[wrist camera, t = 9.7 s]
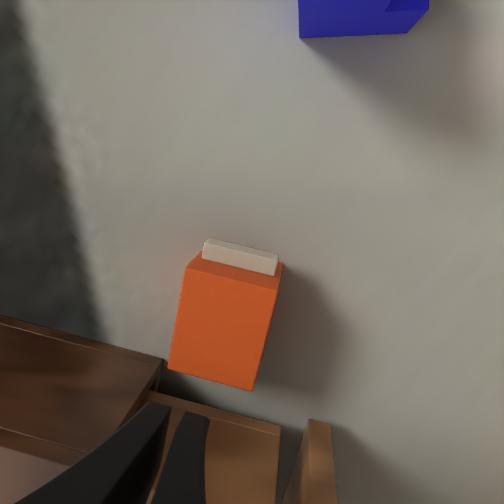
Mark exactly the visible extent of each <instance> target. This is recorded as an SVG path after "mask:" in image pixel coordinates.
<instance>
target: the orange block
mask: <svg viewBox="0 0 504 504" xmlns="http://www.w3.org/2000/svg"><path fill="white" fill-rule="evenodd" d="M278 259H279V255H278V254H274V253H270V252H266V251H262V250H258V249H253V248H249V247H245V246H241V245H237V244H233V243H229V242H225V241H221V240H217V239H213V238H209V239H208V240H207V241H206V242H205V243H204V247H203V250H202V251H201V252H200V253H199V254H198V255H197V256H196V257H195V258H194V259H193V260H192V261H191V262H190V263H189V265H188V266H187V267H186V268H185V272H184V278H183V283H182V289H181V294H180V300H179V306H178V311H177V317H176V322H175V328H174V333H173V339H172V344H171V350H170V355H169V361H168V367H167V368H168V369H170V370H173V371H177V372H181V373H185V374H188V375H192V376H196V377H199V378H203V379H207V380H211V381H214V382H218V383H222V384H225V385H229V386H233V387H237V388H240V389H244V390H248V391H253V388H254V384H255V380H256V376H257V373H258V369H259V365H260V361H261V357H262V353H263V349H264V345H265V341H266V338H267V334H268V330H269V326H270V322H271V318H272V314H273V310H274V307H275V303H276V299H277V295H278V291H279V284H280V278H281V272H282V266H283V263H280V262H278Z"/></svg>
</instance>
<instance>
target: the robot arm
mask: <svg viewBox="0 0 504 504" xmlns="http://www.w3.org/2000/svg"><path fill="white" fill-rule="evenodd" d="M171 409H172V407H170V406H166V405H162V404H159V403H155V402H149V403H147V404H145V405H144V406H143V407H142V408H141V409H140V410H139V411H138V412H137V413H136V414H135V415H134V416H133V417H131V418H130V419H129V420H128V421H127V422H126V423H125V424H123V425H122V426H121V427H120V428H119V429H118V430H116V431H115V432H114V433H113V434H112V435H110V436H109V437H108V438H107V439H105V440H104V441H103V442H102V443H100V444H99V445H98V446H97V447H96V448H94V449H93V450H92V451H90V452H89V453H88V454H86V455H85V456H84V457H82V458H81V459H80V460H78V461H77V462H75V463H74V464H73V465H71V466H70V467H69V468H67V469H66V470H64V471H63V472H62V473H60V474H59V475H57V476H56V477H54V478H53V479H51V480H50V481H48V482H47V483H46V484H44V485H42V486H41V487H39V488H38V489H36V490H35V491H33V492H31V493H30V494H28V495H27V496H25V497H23V498H22V499H20V500H19V501H17V502H15V503H14V504H146V502H147V500H148V497H149V495H150V492H151V490H152V487H153V484H154V482H155V479H156V477H157V474H158V471H159V469H160V466H161V461H162V456H163V451H164V446H165V440H166V435H167V430H168V425H169V419H170V414H171ZM209 425H210V420H209V419H208V417H206V416H202V415H199V414H195V413H191V412H188V411H186V412H185V413H184V415H183V417H182V418H181V420H180V422H179V424H178V426H177V428H176V430H175V433H174V436H173V439H172V442H171V445H170V448H169V451H168V454H167V457H166V460H165V463H164V466H163V469H162V472H161V475H160V478H159V481H158V484H157V487H156V490H155V493H154V495H153V498H152V500H151V503H150V504H206V493H205V448H206V439H207V434H208V430H209Z"/></svg>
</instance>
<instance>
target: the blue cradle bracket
mask: <svg viewBox="0 0 504 504" xmlns="http://www.w3.org/2000/svg"><path fill="white" fill-rule="evenodd" d="M428 8H429V0H298V9H299V38H315V37H336V36H357V35H378V34H399V33H407V32H408V31H409V30H410V29H411V28H412V27H413V26H414V25H415V23H416V22H417V21H418V20H419V19H420V18H421V17H422V16H423V15H424V14H425V13H426V12H427V11H428Z"/></svg>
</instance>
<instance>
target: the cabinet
mask: <svg viewBox="0 0 504 504" xmlns="http://www.w3.org/2000/svg"><path fill="white" fill-rule="evenodd" d="M162 364H163V359H162V358H158V357H154V356H151V355H147V354H143V353H139V352H136V351H132V350H128V349H124V348H121V347H117V346H113V345H110V344H106V343H102V342H98V341H95V340H91V339H87V338H83V337H80V336H76V335H72V334H68V333H65V332H61V331H57V330H54V329H50V328H46V327H42V326H39V325H35V324H31V323H27V322H24V321H20V320H16V319H13V318H9V317H5V316H1V315H0V504H14V503H15V502H17V501H19V500H20V499H22V498H23V497H25V496H27V495H28V494H30V493H31V492H33V491H35V490H36V489H38V488H39V487H41V486H42V485H44V484H46V483H47V482H48V481H50V480H51V479H53V478H54V477H56V476H57V475H59V474H60V473H62V472H63V471H64V470H66V469H67V468H69V467H70V466H71V465H73V464H74V463H75V462H77V461H78V460H80V459H81V458H82V457H84V456H85V455H86V454H88V453H89V452H90V451H92V450H93V449H94V448H96V447H97V446H98V445H99V444H100V443H102V442H103V441H104V440H105V439H107V438H108V437H109V436H110V435H112V434H113V433H114V432H115V431H116V430H118V429H119V428H120V427H121V426H122V425H123V424H125V423H126V422H127V421H128V420H129V419H130V418H131V417H132V416H133V415H134V413H135V411H136V410H137V408H138V407H139V405H140V403H141V402H142V400H143V399H144V397H145V395H146V394H147V392H148V391H149V390H151V391H154V392H158V386H159V381H160V375H161V369H162Z"/></svg>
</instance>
